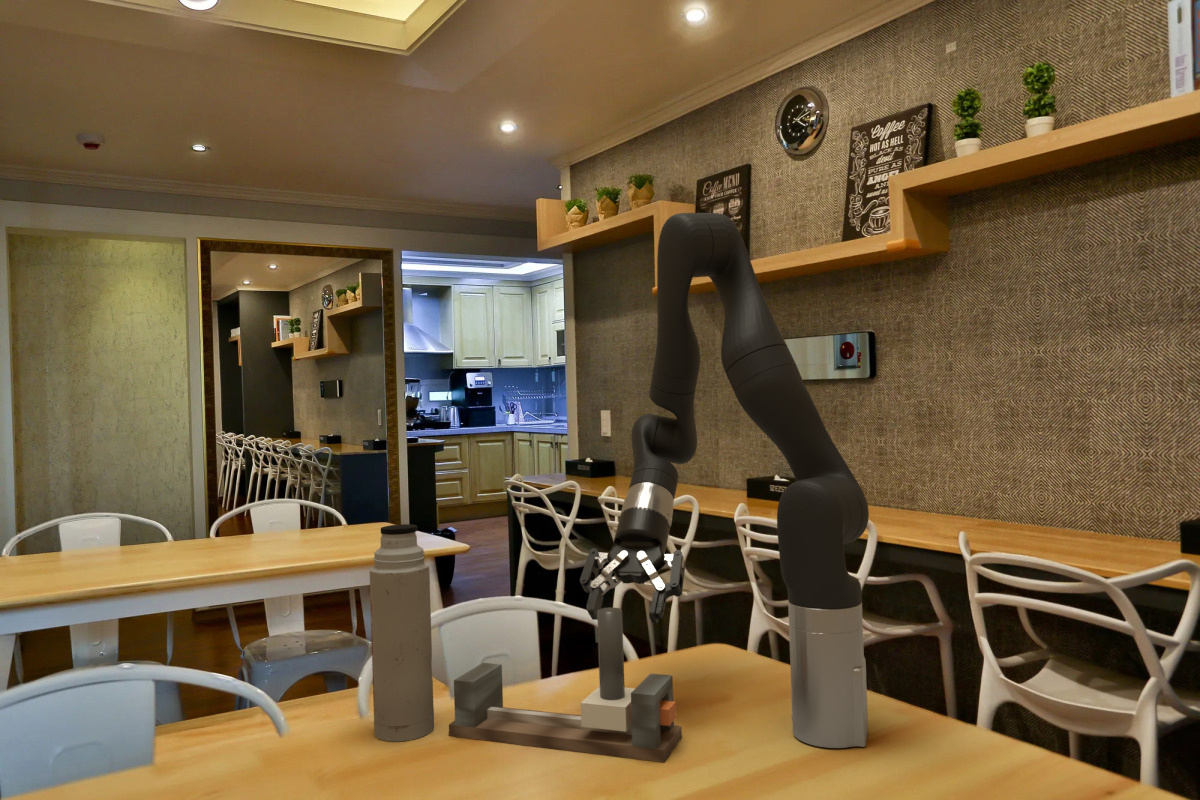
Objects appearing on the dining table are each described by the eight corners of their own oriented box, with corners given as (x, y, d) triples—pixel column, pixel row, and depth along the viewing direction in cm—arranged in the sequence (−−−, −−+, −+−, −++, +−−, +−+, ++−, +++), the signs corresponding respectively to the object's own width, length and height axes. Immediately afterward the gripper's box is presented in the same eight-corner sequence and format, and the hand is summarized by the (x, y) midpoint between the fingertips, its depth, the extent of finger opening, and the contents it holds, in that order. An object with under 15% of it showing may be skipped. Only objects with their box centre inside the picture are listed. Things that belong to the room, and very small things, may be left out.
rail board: (681, 737, 110) (679, 675, 110) (664, 762, 102) (662, 696, 102) (478, 715, 121) (476, 658, 121) (448, 735, 113) (447, 675, 113)
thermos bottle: (363, 740, 113) (357, 529, 113) (390, 718, 120) (384, 521, 121) (419, 743, 111) (413, 529, 111) (443, 721, 119) (437, 521, 119)
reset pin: (676, 717, 108) (675, 701, 108) (669, 725, 105) (668, 709, 105) (638, 713, 109) (638, 698, 109) (631, 721, 107) (630, 705, 107)
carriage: (643, 712, 111) (640, 605, 111) (626, 731, 105) (622, 618, 105) (601, 707, 113) (597, 603, 114) (581, 726, 107) (577, 615, 107)
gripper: (592, 505, 124) (565, 600, 113) (686, 505, 119) (667, 605, 108) (606, 536, 129) (581, 630, 118) (697, 537, 124) (680, 636, 113)
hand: (622, 618), depth 113 cm, fingers open, 8 cm apart
